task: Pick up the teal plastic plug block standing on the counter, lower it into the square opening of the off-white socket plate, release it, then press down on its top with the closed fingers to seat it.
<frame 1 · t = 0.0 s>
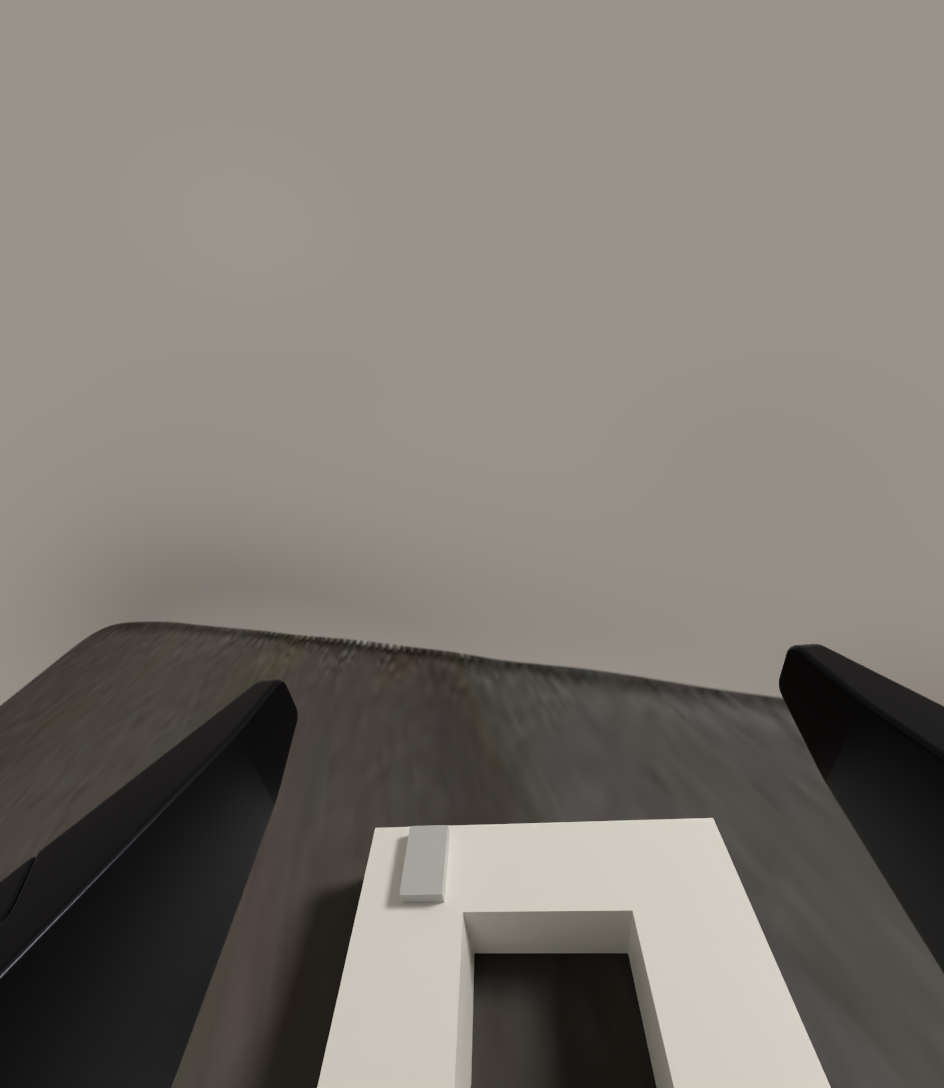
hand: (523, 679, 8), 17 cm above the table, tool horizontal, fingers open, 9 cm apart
socket plate: (560, 1071, 14), on the table
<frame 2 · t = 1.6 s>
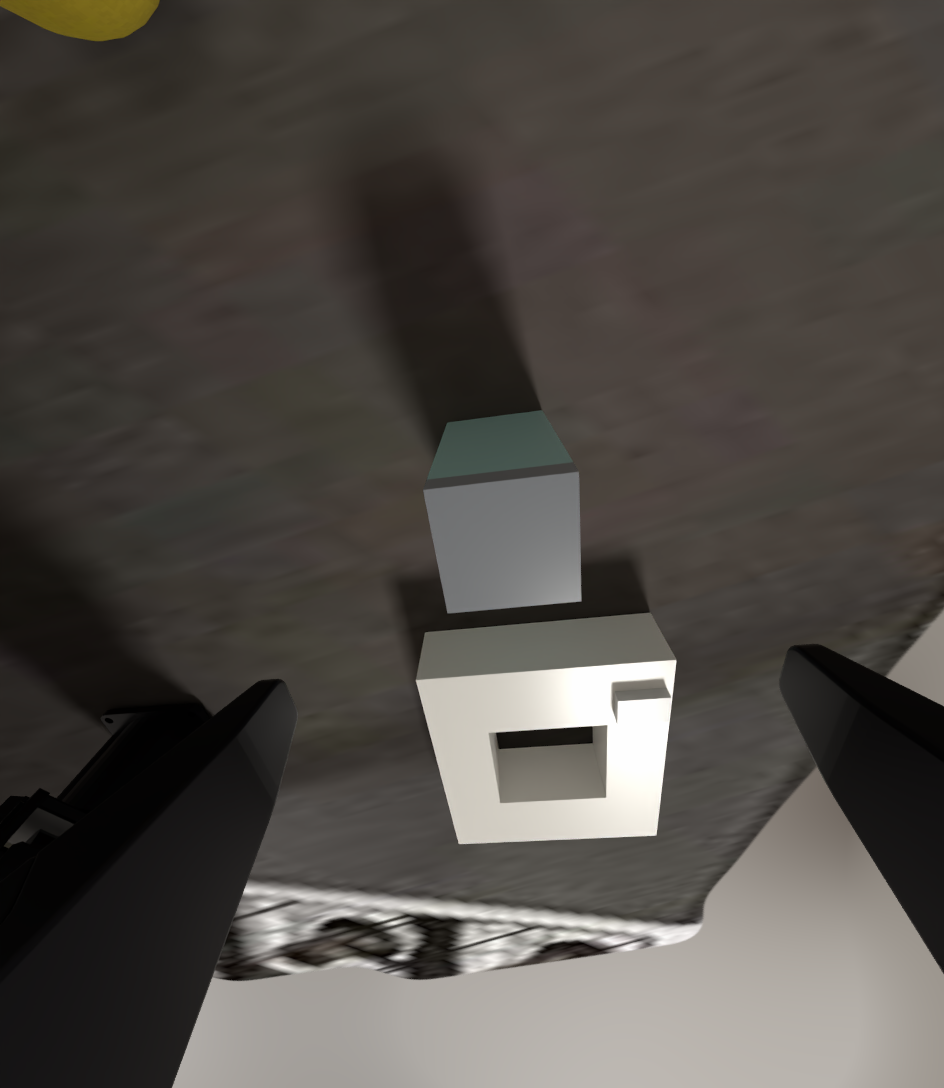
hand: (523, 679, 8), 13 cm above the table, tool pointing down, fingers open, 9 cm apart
plug: (499, 462, 19), on the table
socket plate: (542, 713, 26), on the table
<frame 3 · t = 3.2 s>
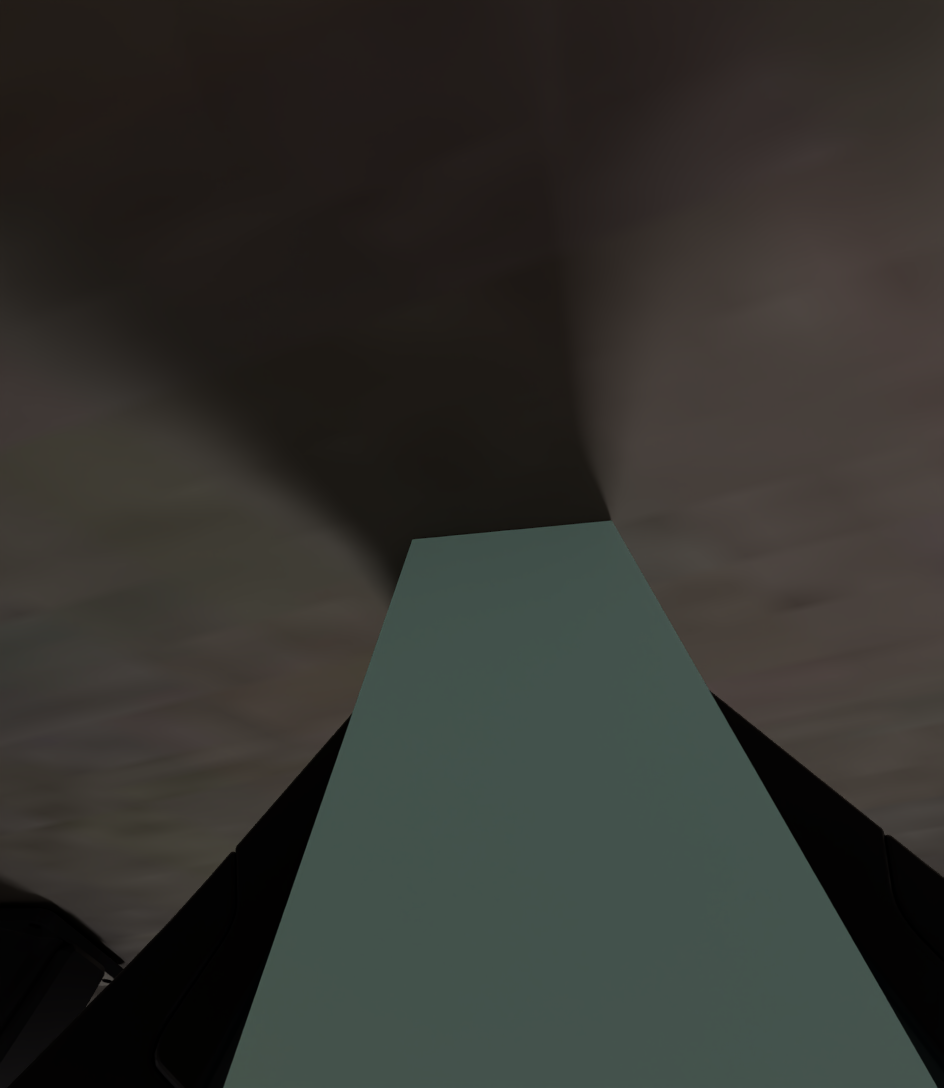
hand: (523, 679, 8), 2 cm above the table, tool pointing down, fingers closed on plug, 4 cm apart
plug: (517, 610, 10), on the table, touching gripper
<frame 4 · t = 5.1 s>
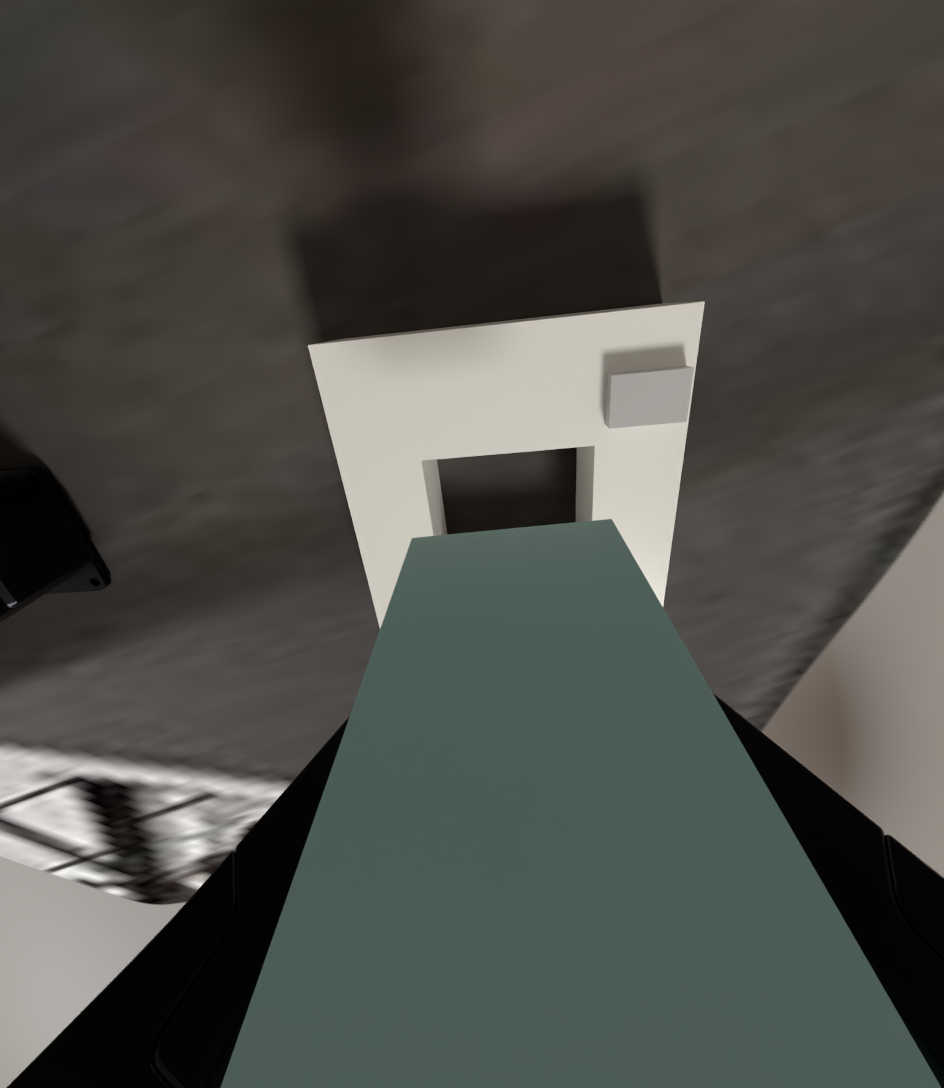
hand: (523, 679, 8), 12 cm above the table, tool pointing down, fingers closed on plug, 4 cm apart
plug: (517, 608, 10), point 10 cm above the table, touching gripper
socket plate: (508, 495, 19), on the table
when the fingers open (4 cm above the table, at t = 7.0 s): plug drops 2 cm, resting in socket plate.
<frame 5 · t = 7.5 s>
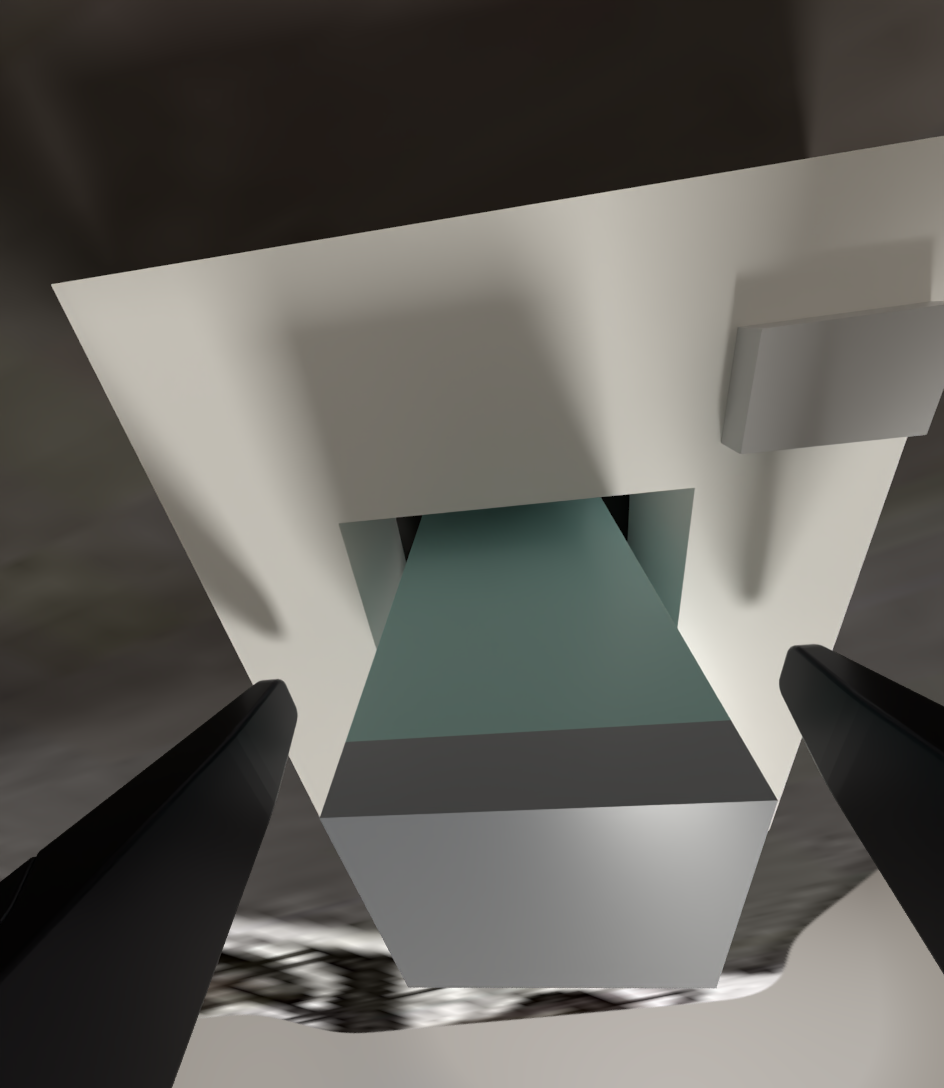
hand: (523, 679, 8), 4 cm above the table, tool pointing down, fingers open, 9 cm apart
plug: (514, 554, 12), resting in socket plate
socket plate: (514, 555, 12), on the table
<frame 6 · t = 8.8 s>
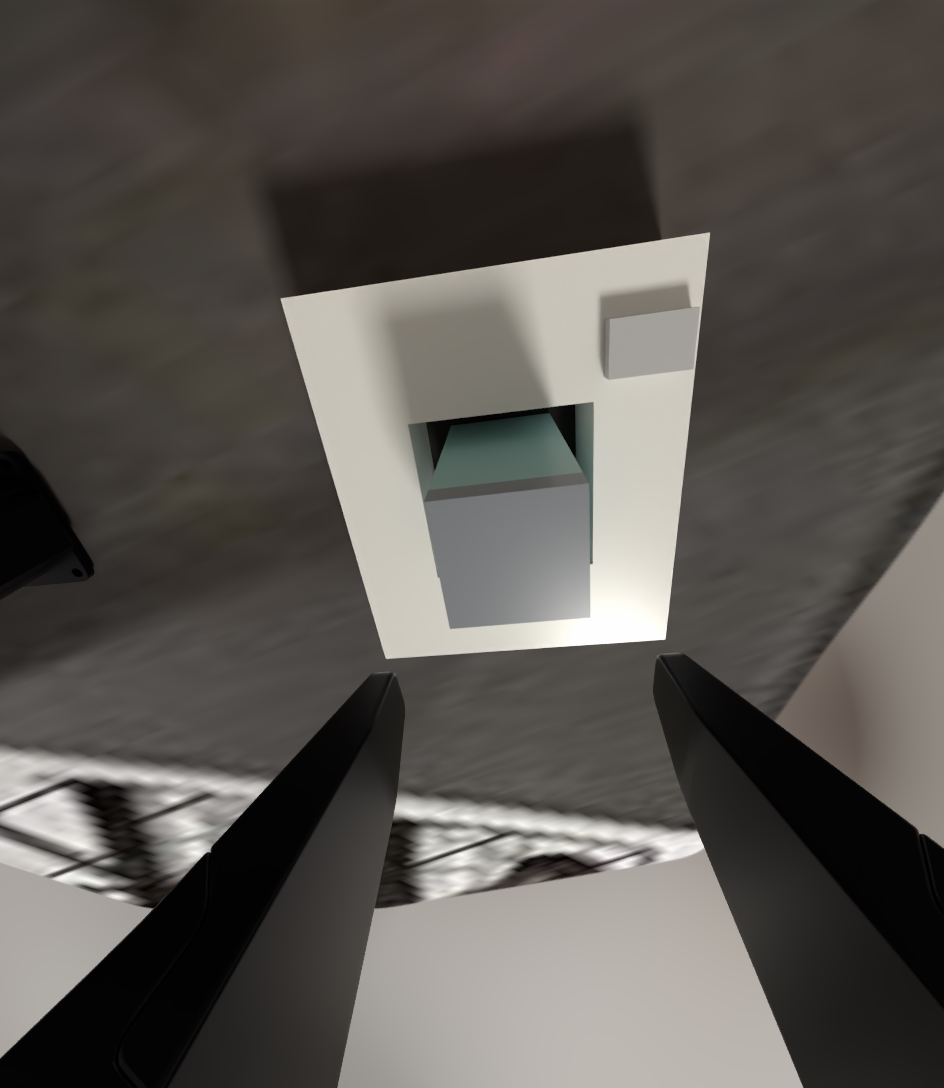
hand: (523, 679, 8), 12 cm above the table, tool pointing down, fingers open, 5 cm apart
plug: (504, 466, 18), resting in socket plate
socket plate: (504, 467, 18), on the table
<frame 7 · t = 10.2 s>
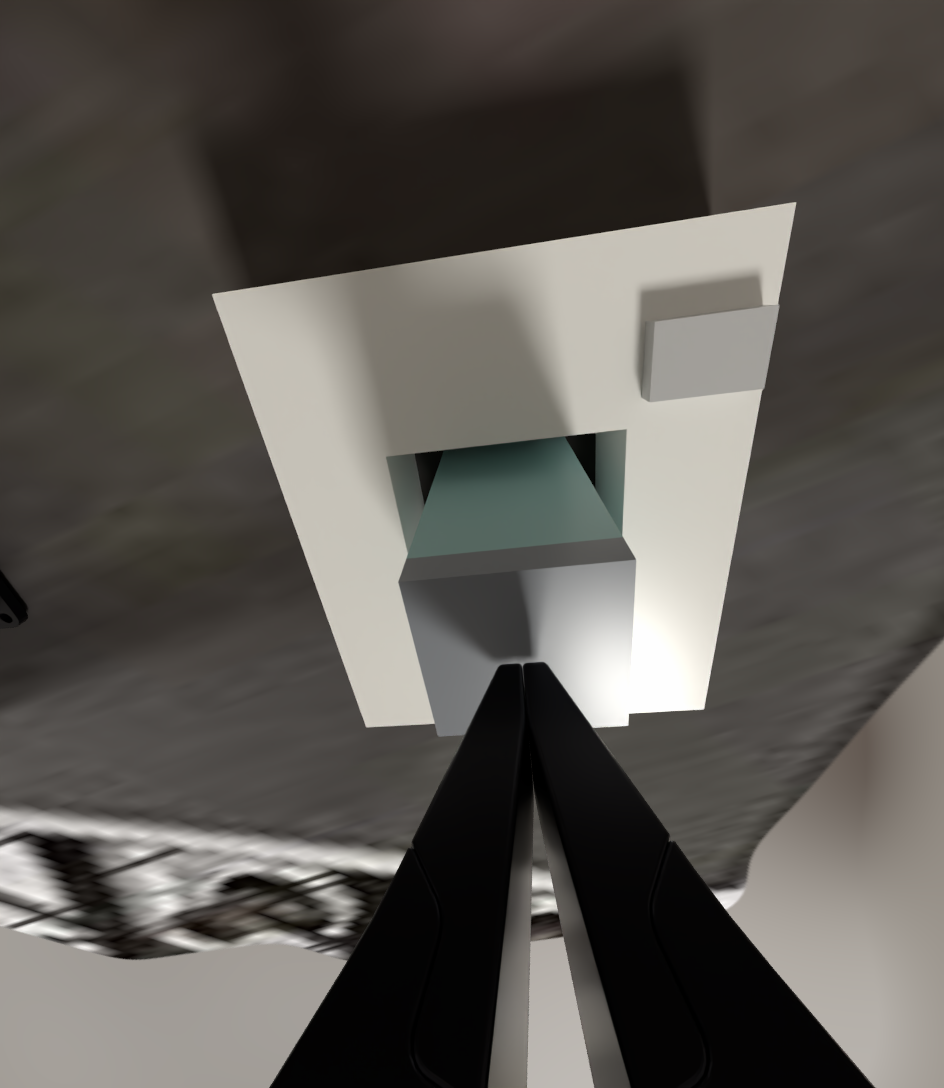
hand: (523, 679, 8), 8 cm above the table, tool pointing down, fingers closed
plug: (508, 498, 15), resting in socket plate
socket plate: (508, 500, 15), on the table
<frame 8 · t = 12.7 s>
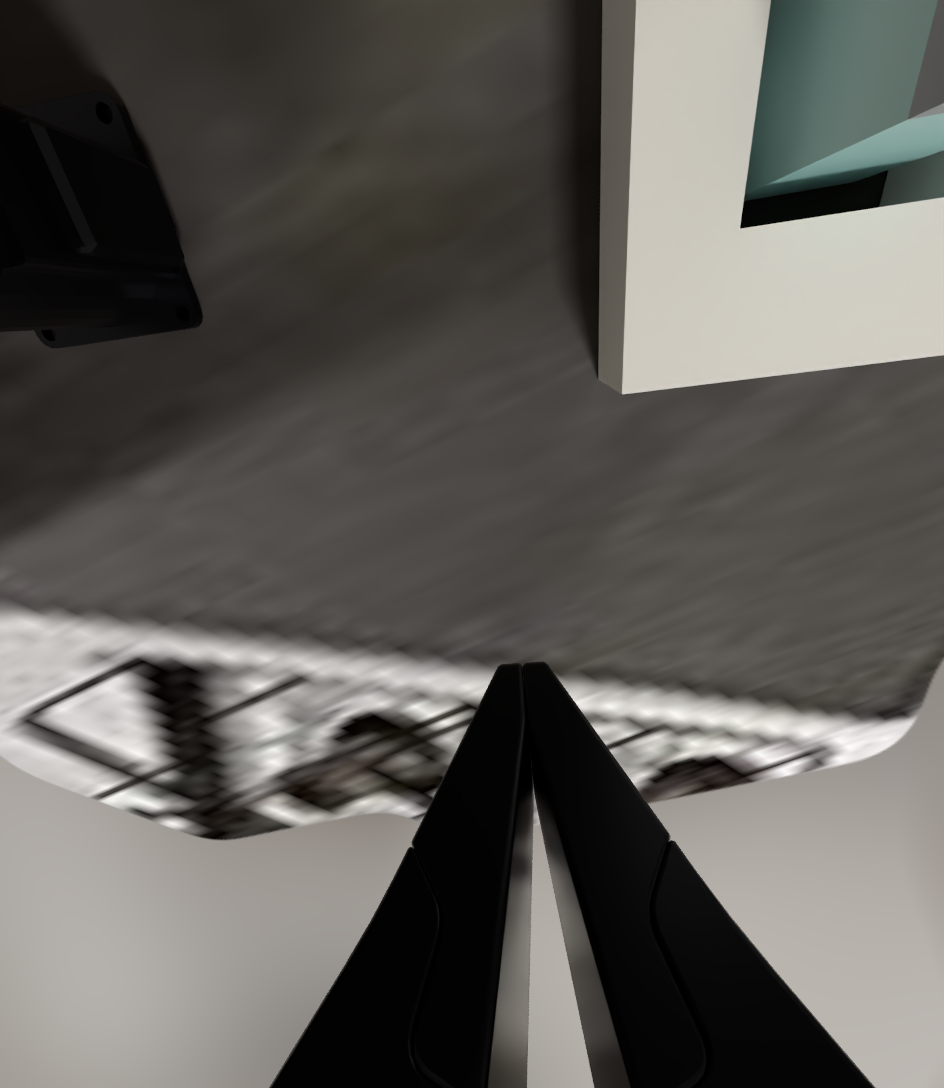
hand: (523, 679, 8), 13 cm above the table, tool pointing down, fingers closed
plug: (801, 111, 13), resting in socket plate
socket plate: (801, 112, 13), on the table
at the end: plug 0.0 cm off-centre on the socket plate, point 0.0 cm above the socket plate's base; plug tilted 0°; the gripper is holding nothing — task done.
